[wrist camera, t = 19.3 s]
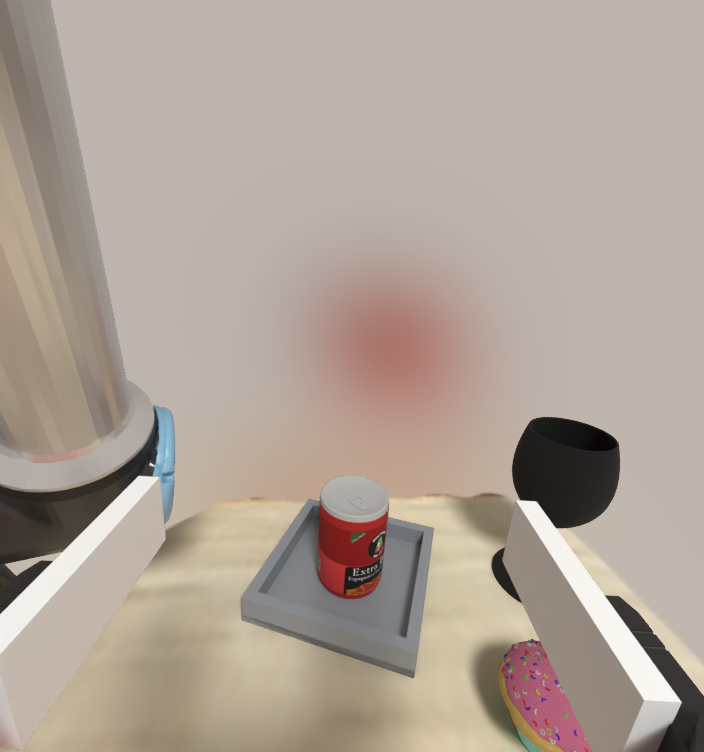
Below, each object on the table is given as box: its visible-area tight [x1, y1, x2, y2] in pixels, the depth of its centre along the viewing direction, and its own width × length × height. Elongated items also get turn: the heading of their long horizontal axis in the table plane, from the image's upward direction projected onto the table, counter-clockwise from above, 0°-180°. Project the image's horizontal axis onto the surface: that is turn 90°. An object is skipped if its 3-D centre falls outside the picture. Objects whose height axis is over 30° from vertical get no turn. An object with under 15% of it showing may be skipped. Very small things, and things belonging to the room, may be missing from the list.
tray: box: [241, 499, 434, 678], centre depth 46 cm, size 18×18×3 cm
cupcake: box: [498, 639, 592, 752], centre depth 30 cm, size 9×8×12 cm
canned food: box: [317, 476, 389, 599], centre depth 44 cm, size 8×8×11 cm
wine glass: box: [492, 417, 620, 603], centre depth 45 cm, size 10×10×20 cm
